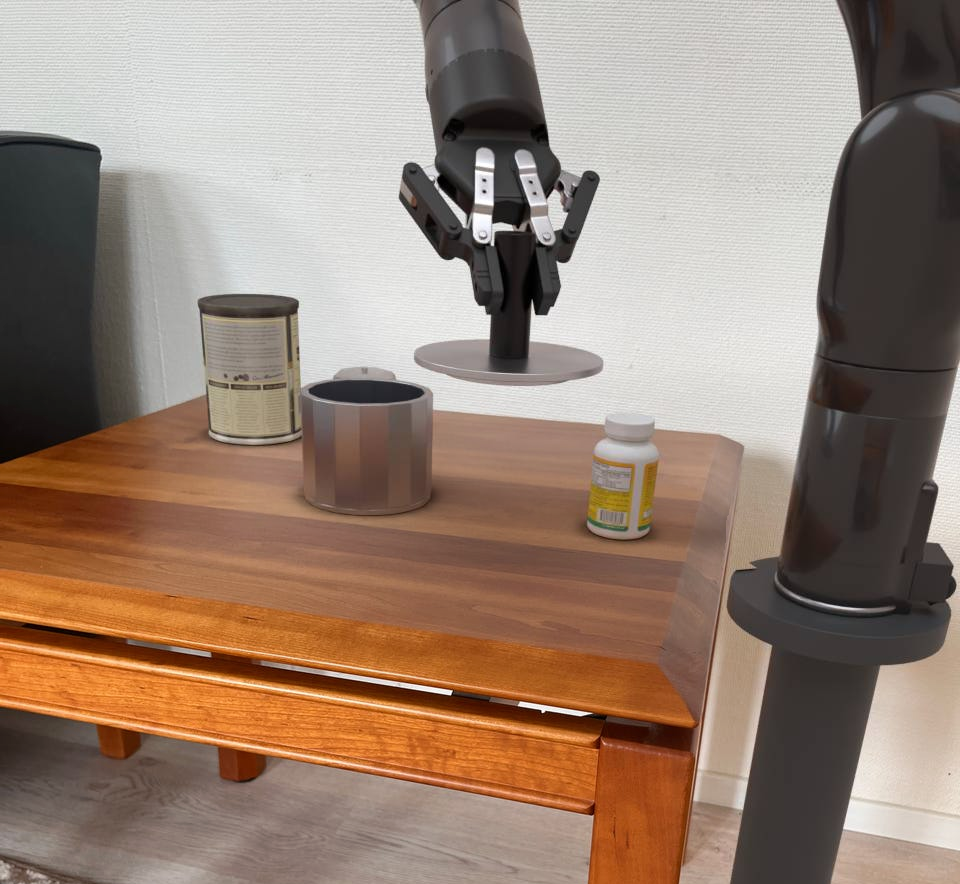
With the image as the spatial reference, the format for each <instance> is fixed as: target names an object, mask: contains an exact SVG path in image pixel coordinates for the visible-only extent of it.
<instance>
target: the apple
mask: <svg viewBox="0 0 960 884" xmlns="http://www.w3.org/2000/svg"><path fill="white" fill-rule="evenodd" d="M343 378H378V379H391V380H397V376H396V374H395V373H394V371H390V370H388V369H383V368H380V367H374V366H366V365H365V366H353V367H344V368H341V369H339V370H338V371H337V372H336V373H335V374H334V375H333V377H332V379H343Z"/></svg>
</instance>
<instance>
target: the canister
mask: <svg viewBox="0 0 960 884" xmlns="http://www.w3.org/2000/svg"><path fill="white" fill-rule="evenodd" d="M300 402H301V429H302V436H301V451H302V452H301V453H302V455H301V457H302V477H303V481H302V482H303V493H304V495H303V496H304V497H303V498H304V499H305V501H306V502H307V503H308V504H309V505H311V506H313V507H315V508H318V509H320V510H324V511H327V512H332V513H336V514H342V515H353V516H385V515H386V516H387V515H395V514H401V513H405V512H411V511H413V510H416V509H419V508H421V507H423V506H425V505H427V503H428V502H429V501H430V499H431V494H432V493H433V492H432V490H433V489H432V487H433V486H432V485H433V483H432V482H433V481H432V480H433V436H434V435H433V432H434V431H433V427H434V392H433V391H432V390H431V388H430V387H428V386H424V385H422V384H420V383H419V384H418V383H415V382H411V381H406V380H405V381H404V380H399V379H396V380H391V379H378V378H343V379H333V378H331V379H324V380H319V381H314V382H310V383H308V384H306V385H304V386H303V387H302V386H301V389H300Z"/></svg>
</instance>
